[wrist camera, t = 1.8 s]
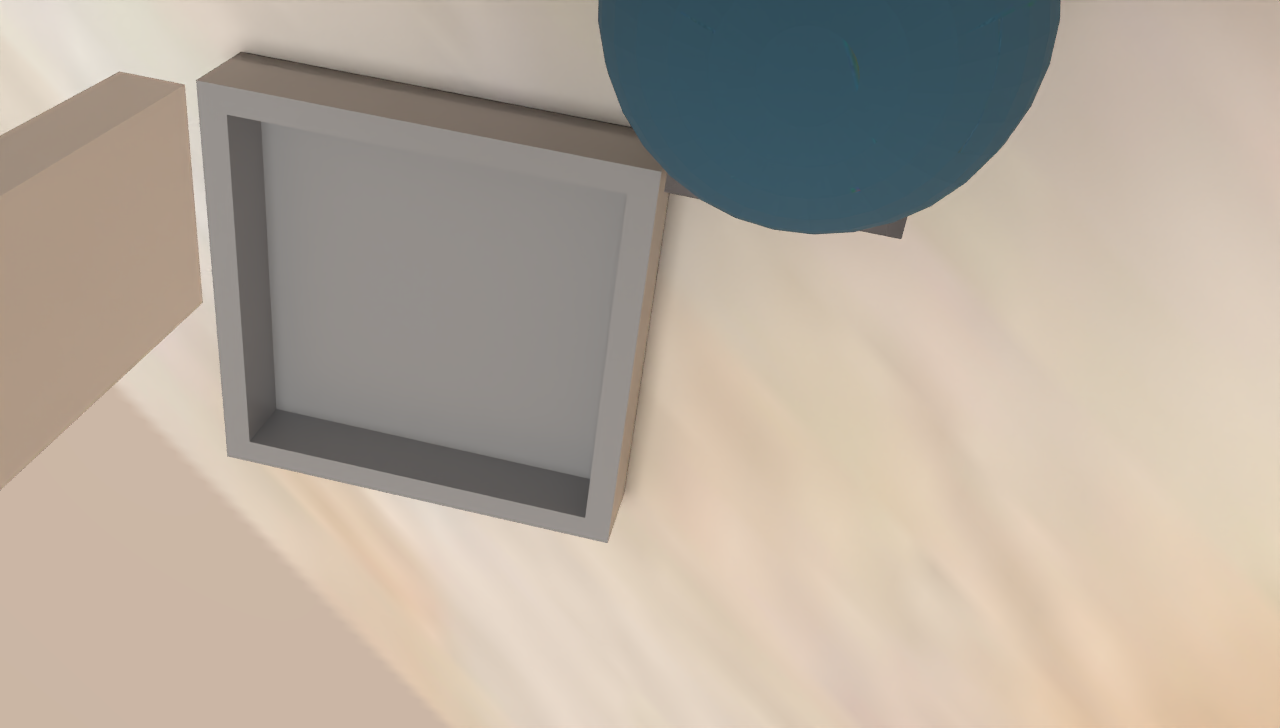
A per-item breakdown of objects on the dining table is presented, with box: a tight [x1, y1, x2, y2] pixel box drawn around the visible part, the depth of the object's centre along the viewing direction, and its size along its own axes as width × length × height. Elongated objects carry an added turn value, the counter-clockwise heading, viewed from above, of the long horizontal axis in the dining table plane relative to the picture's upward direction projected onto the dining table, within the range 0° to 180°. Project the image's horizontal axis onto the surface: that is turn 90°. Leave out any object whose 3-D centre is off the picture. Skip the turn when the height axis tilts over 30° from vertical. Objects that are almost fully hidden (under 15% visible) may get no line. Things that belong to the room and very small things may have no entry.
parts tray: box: [196, 52, 669, 543], centre depth 35 cm, size 13×13×2 cm
